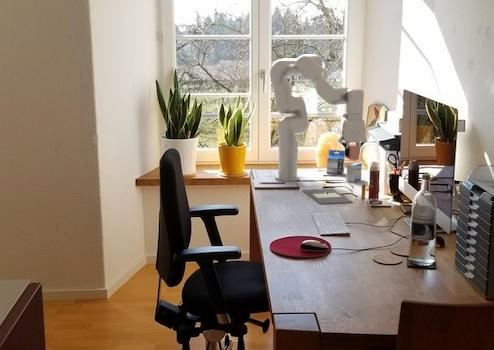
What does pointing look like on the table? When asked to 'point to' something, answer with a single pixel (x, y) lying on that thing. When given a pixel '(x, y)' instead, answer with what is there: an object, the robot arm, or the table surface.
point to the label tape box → (335, 162)
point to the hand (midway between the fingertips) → (351, 156)
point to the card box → (353, 152)
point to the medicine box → (354, 172)
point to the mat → (327, 196)
